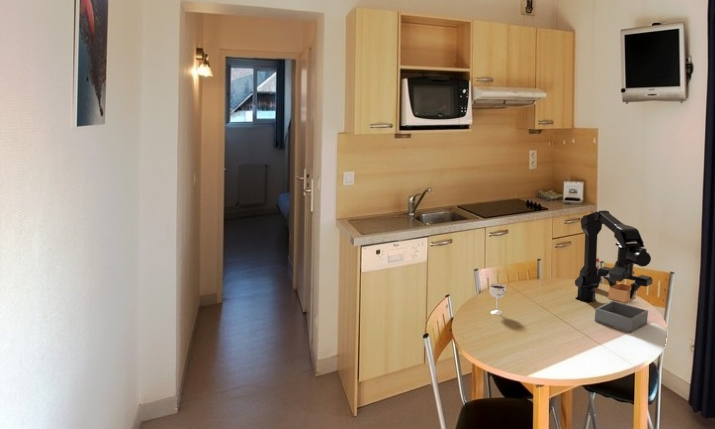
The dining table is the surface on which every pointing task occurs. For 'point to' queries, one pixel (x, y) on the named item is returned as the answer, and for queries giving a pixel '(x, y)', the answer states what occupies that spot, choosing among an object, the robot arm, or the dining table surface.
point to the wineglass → (497, 295)
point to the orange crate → (620, 293)
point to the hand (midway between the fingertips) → (622, 296)
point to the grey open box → (621, 316)
